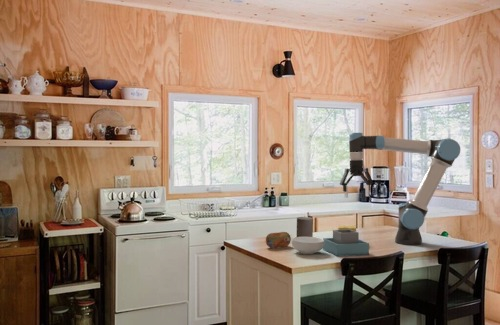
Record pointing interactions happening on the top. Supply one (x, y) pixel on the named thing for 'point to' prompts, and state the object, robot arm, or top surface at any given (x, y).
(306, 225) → the pillar candle
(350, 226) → the cheese
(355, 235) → the block
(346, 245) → the teal crate
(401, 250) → the top surface
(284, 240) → the tin
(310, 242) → the cereal bowl
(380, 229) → the top surface
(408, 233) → the robot arm
